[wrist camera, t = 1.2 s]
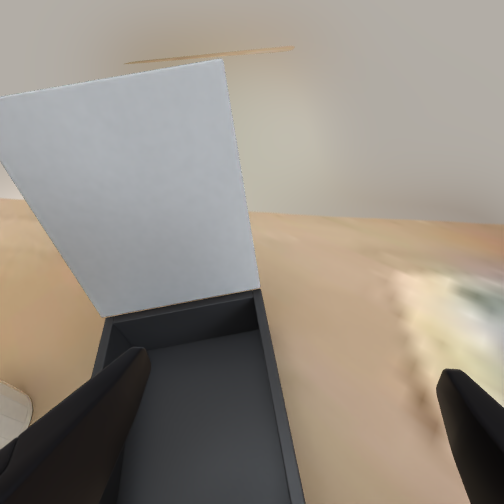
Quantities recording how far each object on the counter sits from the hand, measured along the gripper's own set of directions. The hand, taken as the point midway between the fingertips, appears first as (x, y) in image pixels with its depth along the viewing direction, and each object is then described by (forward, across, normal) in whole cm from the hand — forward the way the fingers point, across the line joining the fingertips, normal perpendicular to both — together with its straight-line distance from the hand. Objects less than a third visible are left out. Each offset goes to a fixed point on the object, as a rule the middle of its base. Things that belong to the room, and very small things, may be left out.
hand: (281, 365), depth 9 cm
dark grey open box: (+5, +7, +14) cm, 17 cm away
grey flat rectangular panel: (+9, +9, -1) cm, 13 cm away
